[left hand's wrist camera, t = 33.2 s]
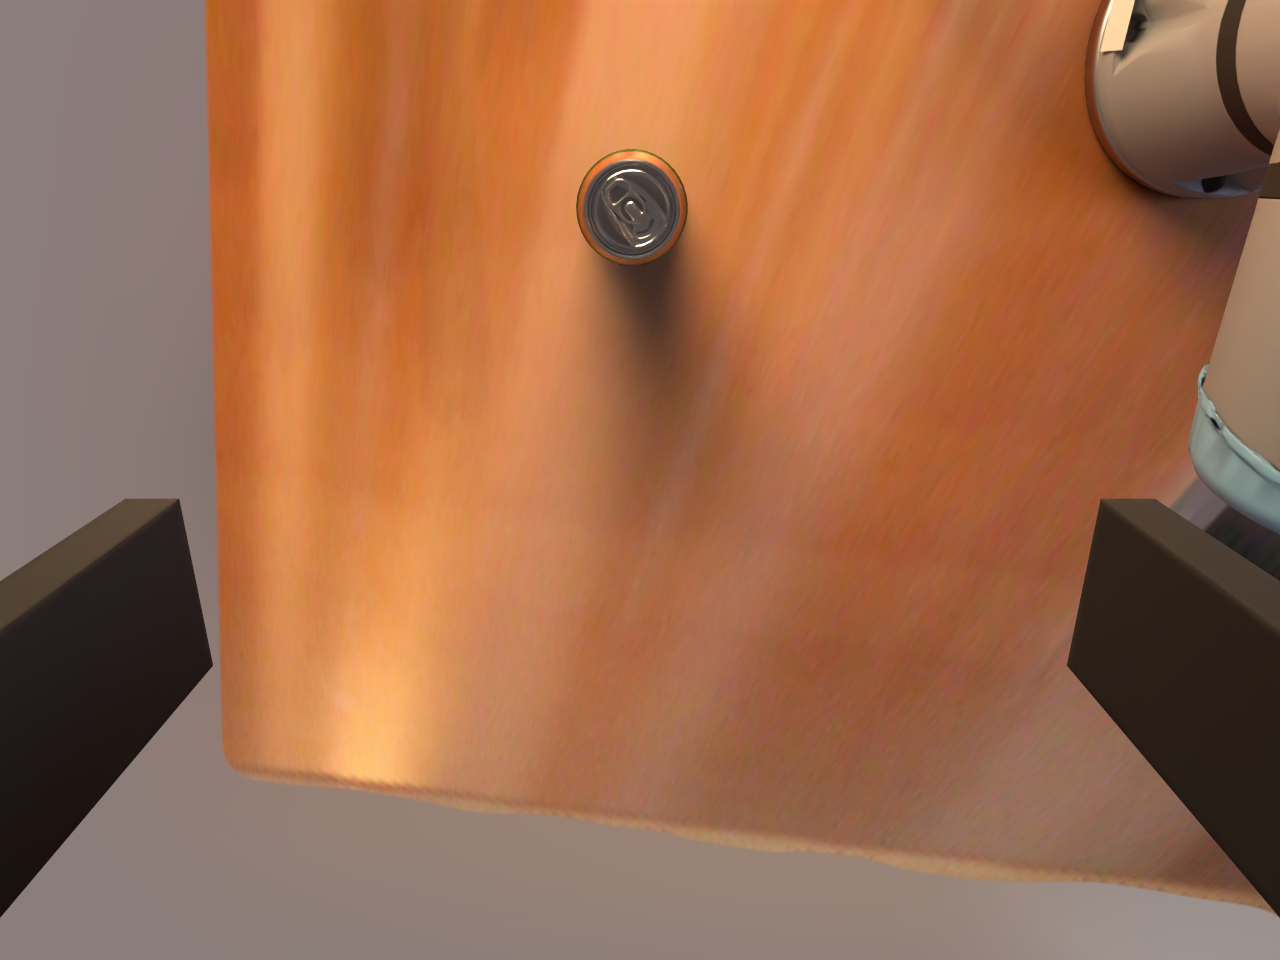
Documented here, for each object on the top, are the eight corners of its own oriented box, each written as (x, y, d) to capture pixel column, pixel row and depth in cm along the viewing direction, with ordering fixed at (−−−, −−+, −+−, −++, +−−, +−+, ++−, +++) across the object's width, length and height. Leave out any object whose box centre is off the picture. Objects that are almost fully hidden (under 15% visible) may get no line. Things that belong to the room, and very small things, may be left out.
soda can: (629, 262, 50) (626, 292, 39) (571, 194, 49) (551, 204, 38) (695, 203, 49) (712, 215, 38) (637, 131, 48) (636, 123, 37)
